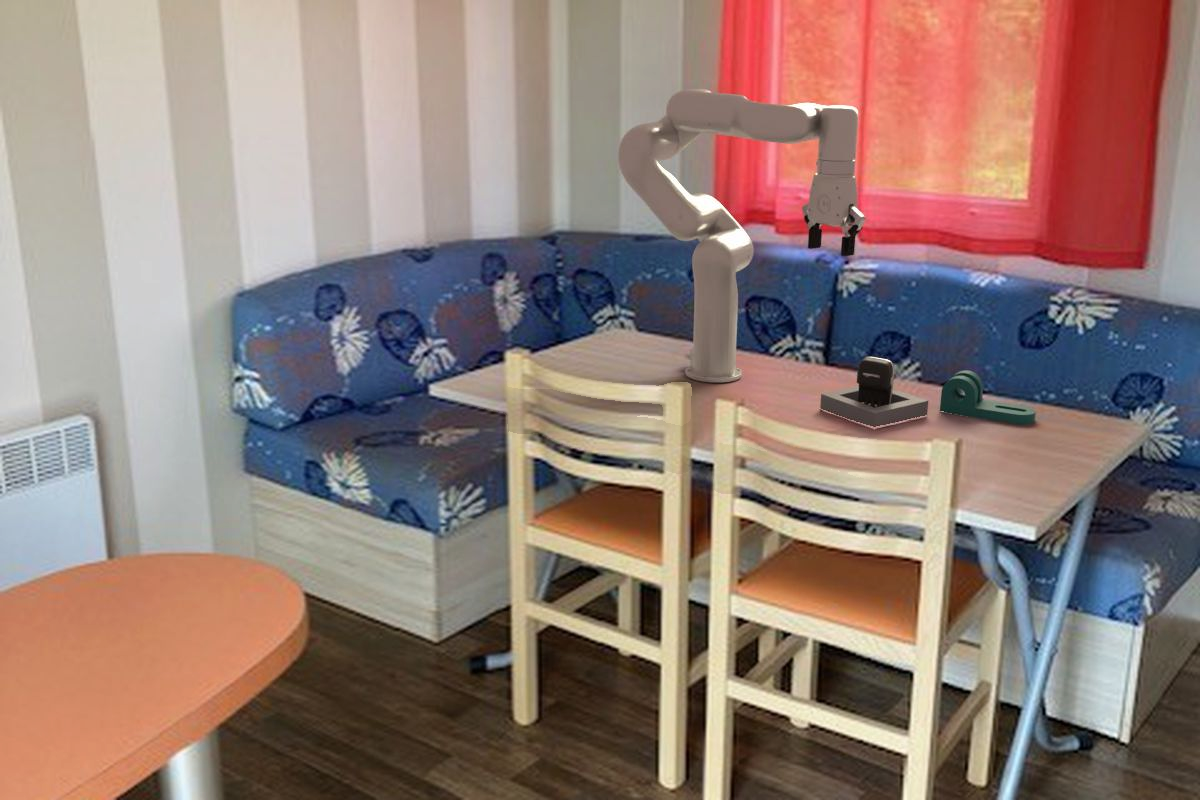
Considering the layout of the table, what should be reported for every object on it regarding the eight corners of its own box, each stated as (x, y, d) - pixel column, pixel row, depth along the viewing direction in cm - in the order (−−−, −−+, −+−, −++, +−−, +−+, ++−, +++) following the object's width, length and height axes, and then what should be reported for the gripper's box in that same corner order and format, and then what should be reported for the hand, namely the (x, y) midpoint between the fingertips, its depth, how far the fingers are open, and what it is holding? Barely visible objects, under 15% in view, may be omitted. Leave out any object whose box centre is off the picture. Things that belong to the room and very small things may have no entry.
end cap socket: (820, 410, 251) (821, 393, 250) (872, 398, 259) (873, 382, 258) (873, 430, 239) (875, 413, 238) (926, 417, 247) (928, 400, 246)
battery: (851, 412, 250) (855, 358, 246) (859, 408, 253) (863, 354, 249) (884, 419, 246) (888, 364, 242) (891, 414, 249) (896, 360, 245)
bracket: (939, 413, 250) (943, 376, 248) (948, 404, 256) (951, 368, 254) (1030, 427, 242) (1035, 389, 240) (1037, 418, 247) (1042, 381, 245)
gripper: (793, 165, 254) (788, 247, 259) (853, 174, 240) (847, 260, 246) (819, 163, 258) (814, 243, 263) (880, 171, 244) (874, 256, 250)
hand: (830, 251), depth 254 cm, fingers open, 9 cm apart
